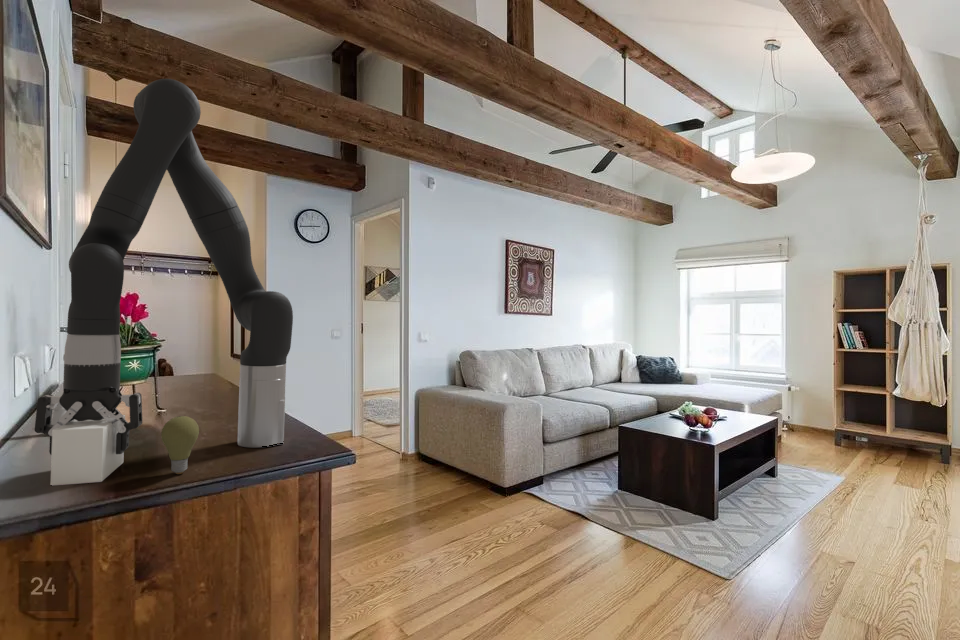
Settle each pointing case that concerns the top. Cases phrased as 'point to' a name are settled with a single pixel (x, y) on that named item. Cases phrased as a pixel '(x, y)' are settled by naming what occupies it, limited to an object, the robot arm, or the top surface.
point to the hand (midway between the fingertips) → (90, 455)
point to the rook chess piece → (57, 413)
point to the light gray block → (84, 452)
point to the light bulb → (179, 441)
